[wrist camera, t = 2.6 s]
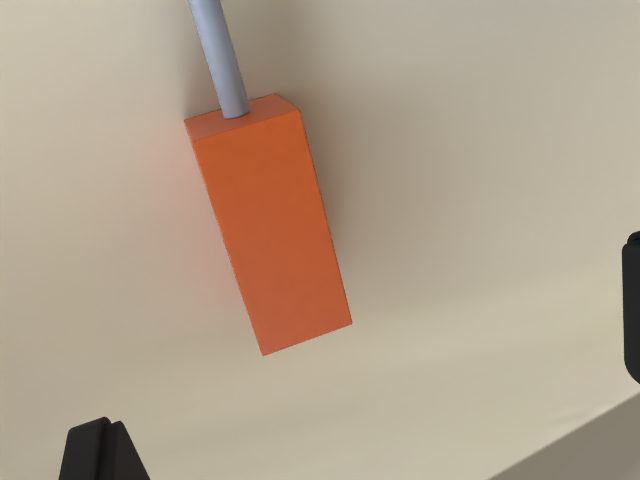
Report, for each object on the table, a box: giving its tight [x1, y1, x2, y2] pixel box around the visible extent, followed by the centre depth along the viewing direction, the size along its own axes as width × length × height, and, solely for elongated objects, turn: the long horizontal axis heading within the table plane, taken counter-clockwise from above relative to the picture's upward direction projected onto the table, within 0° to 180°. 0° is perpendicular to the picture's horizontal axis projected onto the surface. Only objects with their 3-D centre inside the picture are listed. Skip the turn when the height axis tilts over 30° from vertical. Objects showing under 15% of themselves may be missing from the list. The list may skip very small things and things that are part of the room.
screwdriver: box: [184, 0, 352, 356], centre depth 18 cm, size 13×3×3 cm, turn 14°
